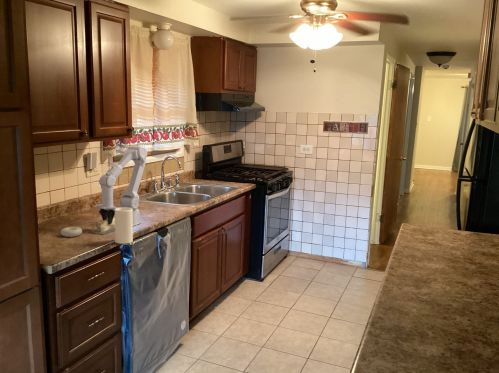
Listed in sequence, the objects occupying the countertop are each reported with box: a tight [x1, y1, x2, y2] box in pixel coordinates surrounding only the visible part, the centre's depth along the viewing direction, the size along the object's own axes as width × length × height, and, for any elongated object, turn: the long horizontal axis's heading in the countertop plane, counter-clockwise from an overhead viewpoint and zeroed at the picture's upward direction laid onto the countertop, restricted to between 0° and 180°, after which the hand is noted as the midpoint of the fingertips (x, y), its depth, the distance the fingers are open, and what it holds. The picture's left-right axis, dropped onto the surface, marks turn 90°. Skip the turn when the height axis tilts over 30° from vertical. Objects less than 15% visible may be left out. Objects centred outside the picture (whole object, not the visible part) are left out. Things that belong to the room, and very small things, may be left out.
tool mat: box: [88, 228, 115, 236], centre depth 237 cm, size 18×9×1 cm, turn 158°
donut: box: [60, 226, 83, 238], centre depth 225 cm, size 10×4×10 cm
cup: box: [114, 207, 134, 244], centre depth 216 cm, size 8×8×16 cm
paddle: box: [96, 216, 115, 232], centre depth 237 cm, size 14×2×5 cm, turn 158°
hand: (107, 223), depth 237 cm, fingers closed on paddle, 2 cm apart
